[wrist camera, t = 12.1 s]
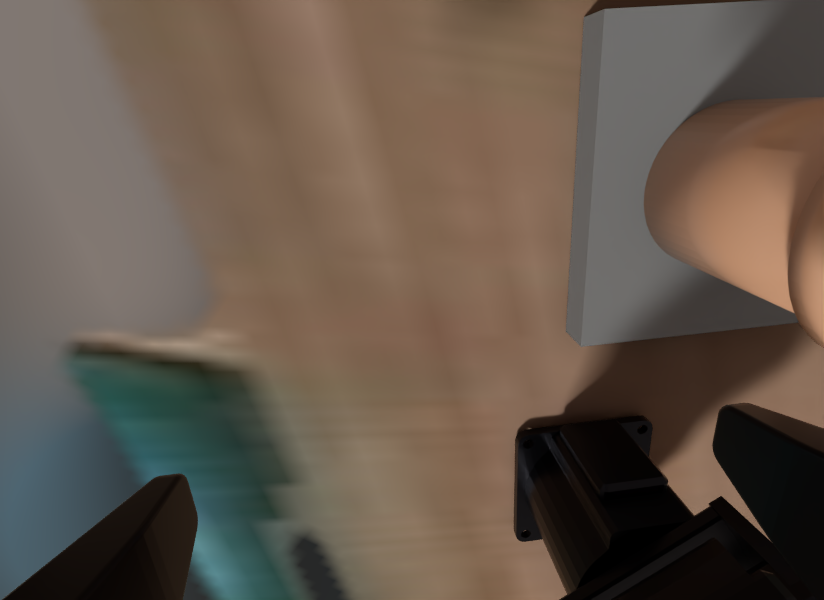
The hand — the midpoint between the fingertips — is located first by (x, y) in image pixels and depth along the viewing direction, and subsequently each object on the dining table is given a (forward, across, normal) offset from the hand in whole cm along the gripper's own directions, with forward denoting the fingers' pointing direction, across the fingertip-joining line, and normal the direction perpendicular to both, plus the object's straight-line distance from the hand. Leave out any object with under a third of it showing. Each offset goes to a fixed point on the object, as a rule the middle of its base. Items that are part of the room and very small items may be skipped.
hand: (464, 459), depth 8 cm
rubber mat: (+12, -12, -2) cm, 17 cm away
